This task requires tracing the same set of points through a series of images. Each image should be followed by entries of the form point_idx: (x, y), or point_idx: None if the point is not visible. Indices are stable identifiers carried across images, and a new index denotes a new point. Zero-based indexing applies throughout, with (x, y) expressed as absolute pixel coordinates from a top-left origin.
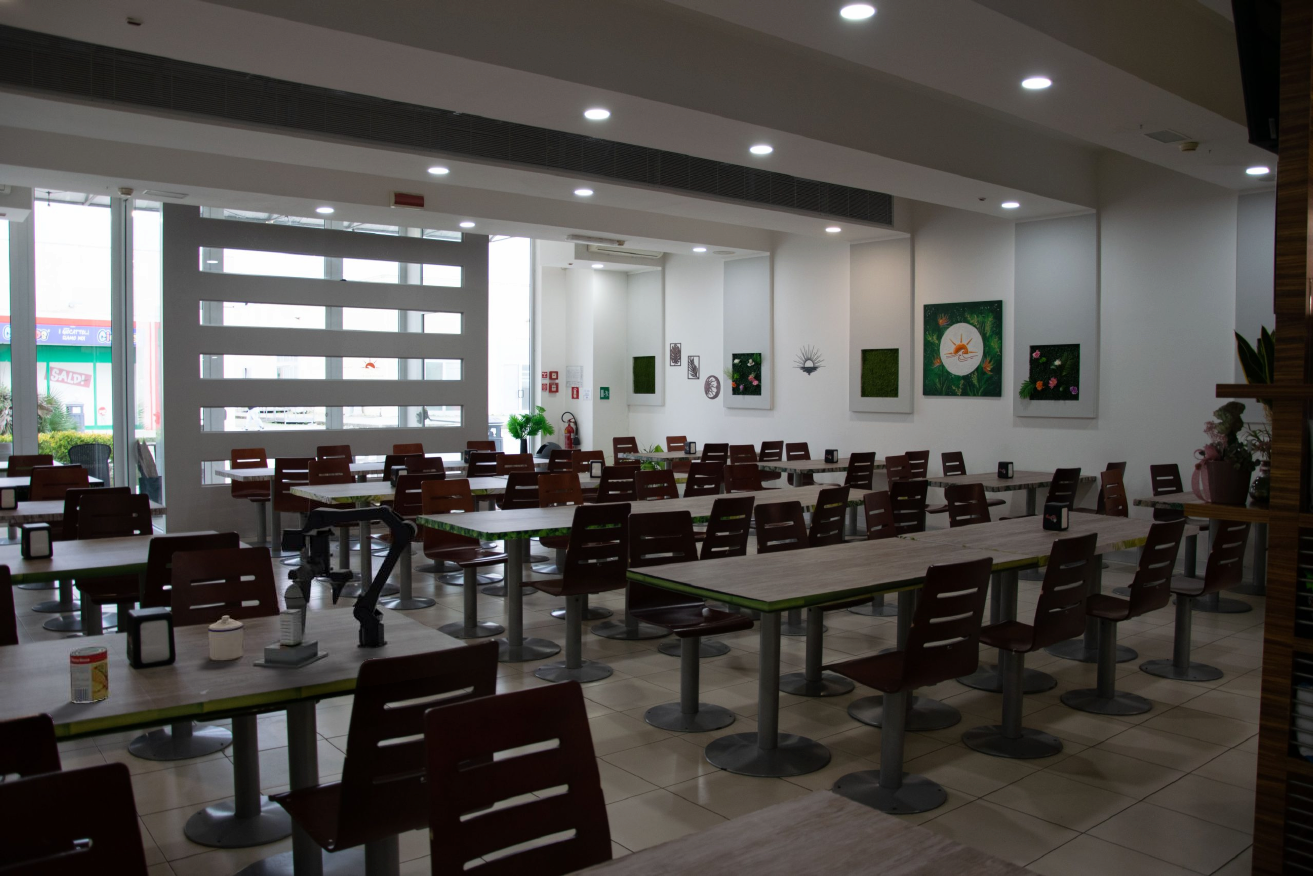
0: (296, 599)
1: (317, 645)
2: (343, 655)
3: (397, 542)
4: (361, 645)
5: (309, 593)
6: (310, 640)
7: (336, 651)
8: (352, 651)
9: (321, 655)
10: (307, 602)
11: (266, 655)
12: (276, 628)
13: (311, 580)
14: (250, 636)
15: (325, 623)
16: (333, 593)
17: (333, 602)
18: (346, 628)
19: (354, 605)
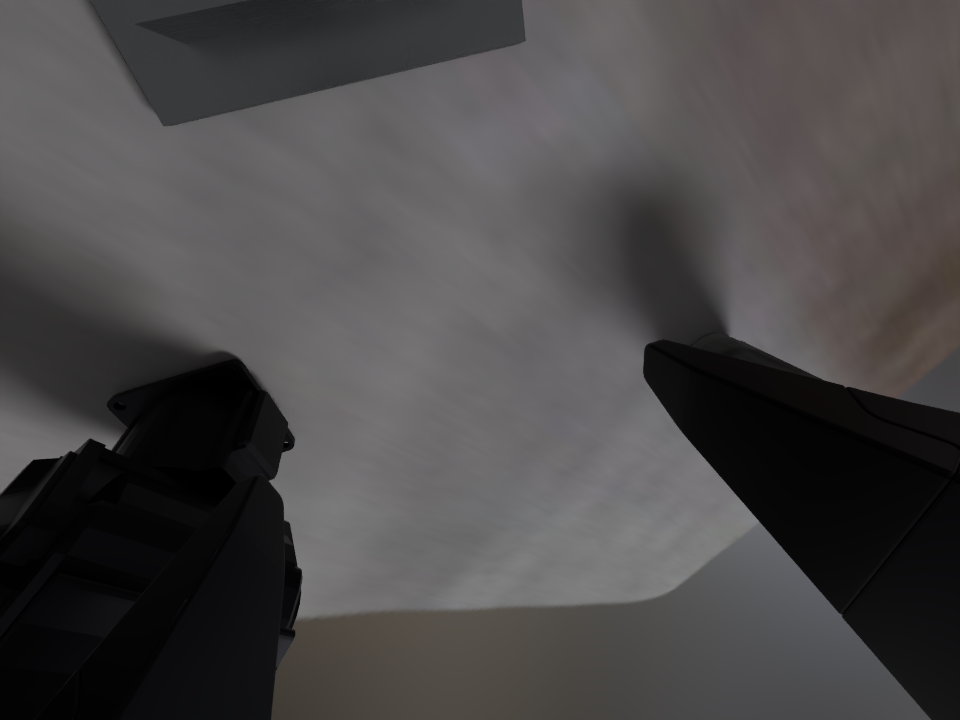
0: None
1: (153, 28)
2: (75, 183)
3: None
4: (204, 372)
5: (728, 465)
6: (223, 2)
7: (243, 235)
8: (154, 287)
9: (97, 11)
10: (650, 354)
11: None
12: (806, 352)
13: (920, 705)
14: (866, 217)
15: (674, 471)
16: (108, 674)
17: (235, 500)
18: (565, 481)
19: (32, 602)
